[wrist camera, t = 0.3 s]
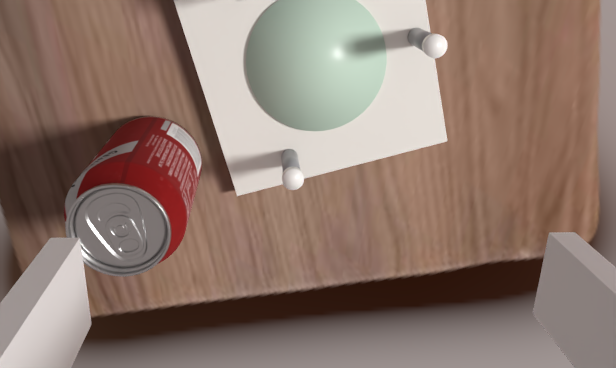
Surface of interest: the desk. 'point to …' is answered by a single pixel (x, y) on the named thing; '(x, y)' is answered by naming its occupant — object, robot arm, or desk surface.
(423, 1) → the white pegged board
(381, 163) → the desk surface
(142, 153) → the soda can
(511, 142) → the desk surface
